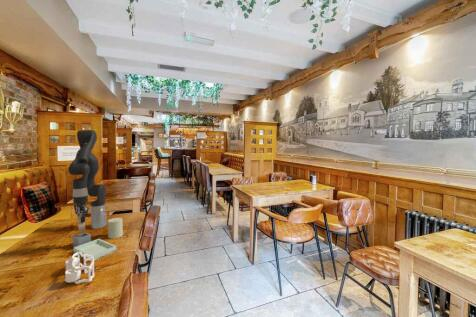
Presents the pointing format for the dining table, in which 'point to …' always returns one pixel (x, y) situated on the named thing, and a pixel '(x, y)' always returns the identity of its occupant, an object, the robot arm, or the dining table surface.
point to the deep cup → (81, 239)
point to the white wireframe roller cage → (78, 268)
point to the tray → (95, 249)
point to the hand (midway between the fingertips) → (81, 221)
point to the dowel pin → (80, 224)
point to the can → (115, 228)
